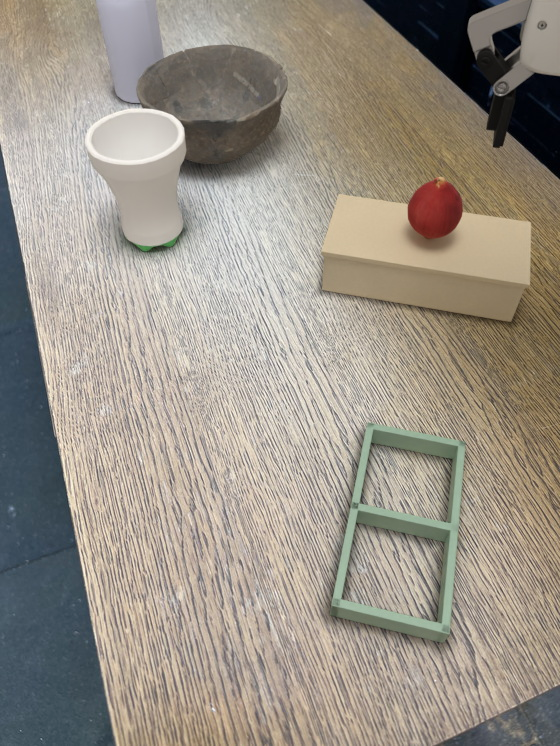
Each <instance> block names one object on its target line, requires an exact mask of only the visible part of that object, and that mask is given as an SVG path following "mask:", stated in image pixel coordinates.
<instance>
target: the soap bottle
mask: <svg viewBox="0 0 560 746" xmlns="http://www.w3.org/2000/svg"><path fill="white" fill-rule="evenodd" d="M94 1H95V5H96V10H97V15H98V18H99V23H100V28H101V33H102V39H103V42H104V46H105V50H106V51H105V52H106V56H107V61H108V64H109V70H110V75H111V79H112V84H113V88H114V92H115V94H116V97H118V98H119V99H120V100H122V101H124V102H126V103H131V104H141V103H140V101H139V99H138V97H137V92H136V87H137V83H138V80H139V78H140V77H141V75H142V74H143V72H144V71H145V70H146V68H147V67H149V66H150V65H152V64H154V63H156V62H157V61H159V60H161V59H163V58H165V54H164V47H163V41H162V34H161V27H160V21H159V14H158V8H157V0H94Z"/></svg>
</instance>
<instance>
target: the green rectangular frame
mask: <svg viewBox="0 0 560 746" xmlns="http://www.w3.org/2000/svg"><path fill="white" fill-rule="evenodd" d="M364 433H365V434H364V436H363V442H362V447H361V452H360V456H359V463H358V467H357V472H356V477H355V481H354V482H355V483H354V488H353V493H352V497H351V502H350V508H349V513H348V518H347V524H346V528H345V534H344V538H343V543H342V549H341V554H340V559H339V562H338V569H337V574H336V579H335V583H334V584H335V585H334V589H333V594H332V599H331V604H330V609H329V616H331V617H336V618H340V619H344V620H348V621H352V622H356V623H361V624H365V625H368V626H371V627H372V626H373V627H376V628H380V629H385V630H388V631H393V632H395V633H396V632H397V633H401V634H405V635H409V636H412V637H416V638H421V639H424V640H429V641H434V642H437V643H441V644H444V643H445V642H446V640H447V639H448V637H449V636H450V634H451V624H452V623H451V622H452V611H453V601H454V588H455V574H456V564H457V553H458V540H459V530H460V529H459V528H460V518H461V517H460V515H461V506H462V505H461V504H462V493H463V482H464V469H465V458H466V457H465V456H466V445H467V444H466V443H467V442H466V441H464V440H459V439H454V438H449V437H444V436H439V435H436V434H435V435H434V434H429V433H424V432H419V431H415V430H414V431H413V430H408V429H404V428H398V427H394V426H389V425H385V424H379V423H374V422H371V421H370V422H369V421H367V422H366V427H365V432H364ZM371 444H376V445H381V446H386V447H391V448H395V449H400V450H405V451H409V452H415V453H419V454H425V455H429V456H434V457H440V458H444V459H449V460H450V459H451V460H452V463H451V473H450V482H449V493H448V503H447V515H446V521H443V520H439V519H433V518H428V517H423V516H420V515H414V514H409V513H405V512H401V511H396V510H391V509H388V508H384V507H379V506H373V505H370V504H369V505H368V504H364V503H360V502H361V497H362V492H363V487H364V481H365V476H366V472H367V471H366V470H367V465H368V460H369V455H370V449H371ZM356 524H362V525H366V526H371V527H375V528H379V529H383V530H388V531H394V532H398V533H402V534H406V535H411V536H414V537H415V536H416V537H420V538H423V539H424V538H425V539H429V540H433V541H437V542H443V543H444V546H443V556H442V565H441V575H440V576H441V577H440V585H439V586H440V587H439V596H438V597H439V598H438V608H437V609H438V610H437V617H436V621H433V620H429V619H425V618H421V617H417V616H412V615H409V614H404V613H400V612H396V611H392V610H387V609H384V608H380V607H375V606H371V605H367V604H362V603H360V602H359V603H358V602H355V601H351V600H346V599H343V593H344V587H345V582H346V577H347V571H348V568H349V567H348V566H349V562H350V561H349V560H350V556H351V552H352V551H351V550H352V545H353V539H354V534H355V530H356Z"/></svg>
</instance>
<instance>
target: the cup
mask: <svg viewBox="0 0 560 746" xmlns="http://www.w3.org/2000/svg"><path fill="white" fill-rule="evenodd" d="M84 147H85V150H86V153H87V156H88V159H89V160H88V161H89V162H90V164H91V166H92V168H93V169H94V171H96V173H97V174H99V176H100V177H102V178H103V180H104V182H105V183H106V184H107V186H108V188H109V190H110V191H111V192H112V194H113V196H114V198H115V201H116V203H117V207H118V209H119V212H120V225H121V229H122V232H123V235H124V238H125V239H126V240H127V241H129V242H130V243H132V244H134V245H135V246H136V247H138V249H140V250H141V251H142V252H148V251H149V252H150V251H151V250H152V249H153V248H155V247H159V246H164V247H168V248H170V247H173V246H175V243H176V241H177V239H178V238H179V236H180V234H181V232H182V231H183V229H184V220H183V214H182V213H183V212H182V210H181V208H180V205H179V201H178V184H179V183H178V182H179V177H180V170H181V167H182V164H183V162H184V161H185V154H186V143H185V133H184V127H183V125H182V124H181V122H180V121H179V120H178V119H177V118H175V117H174V116H173V115H171V114H168V113H166V112H163V111H159V110H154V109H143V108H140V107H138V108H137V107H136V108H127V109H126V108H125V109H123V110H118V111H115V112H113V113H110V114H107V115H104V117H102V118H100V119H98V120H97V121H96V122H94V123H93V124H92V125H91V126H90V127H89V128H88V129H87V131H86V133H85V135H84Z"/></svg>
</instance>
